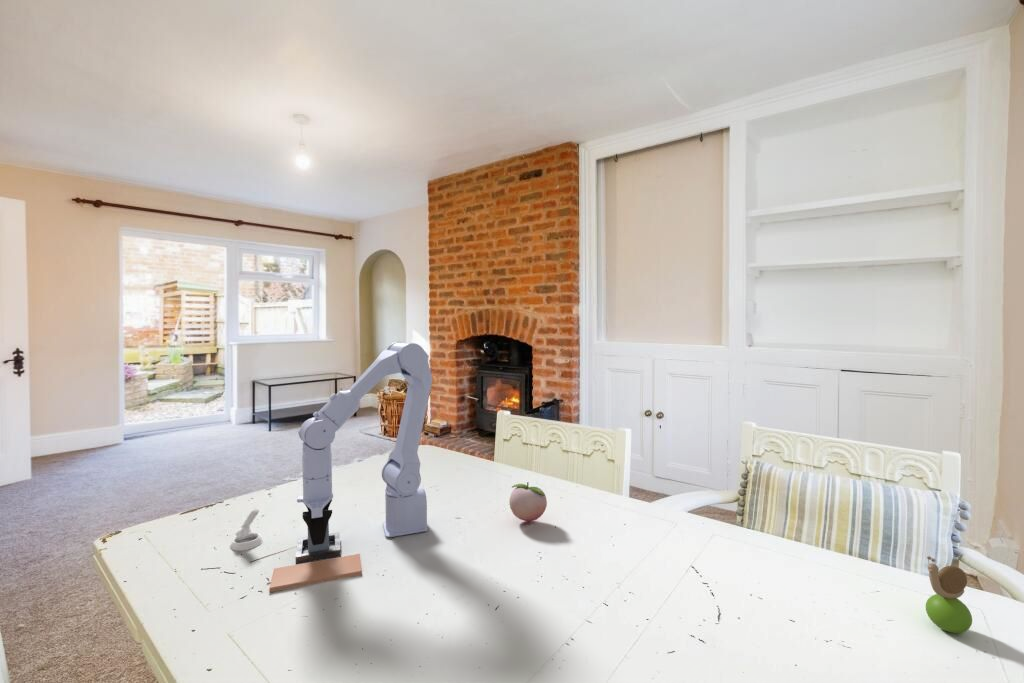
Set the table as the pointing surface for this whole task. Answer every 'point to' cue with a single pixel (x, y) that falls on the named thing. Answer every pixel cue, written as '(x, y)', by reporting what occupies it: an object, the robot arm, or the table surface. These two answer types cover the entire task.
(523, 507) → the decorative fruit
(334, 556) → the iron collar
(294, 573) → the terracotta tile
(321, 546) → the metal peg
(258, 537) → the white handled ring
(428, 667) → the table surface
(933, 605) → the snail figurine
